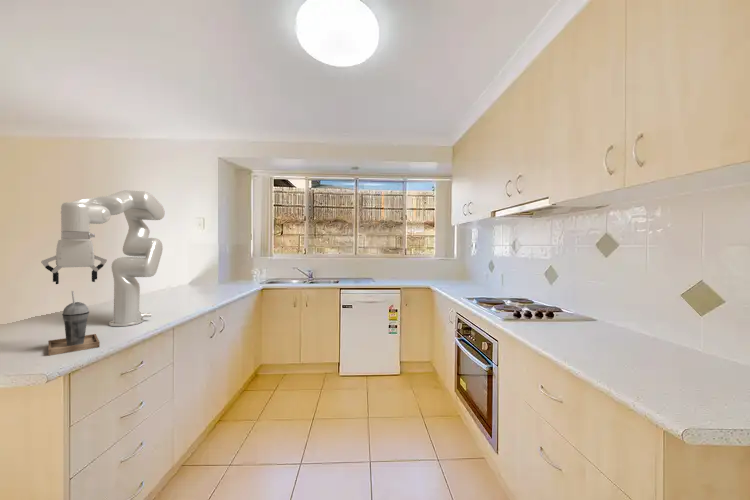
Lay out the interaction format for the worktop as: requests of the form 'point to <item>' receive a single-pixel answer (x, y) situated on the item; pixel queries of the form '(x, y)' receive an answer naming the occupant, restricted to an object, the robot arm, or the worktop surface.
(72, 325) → the beverage cup
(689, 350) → the worktop surface
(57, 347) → the tray
